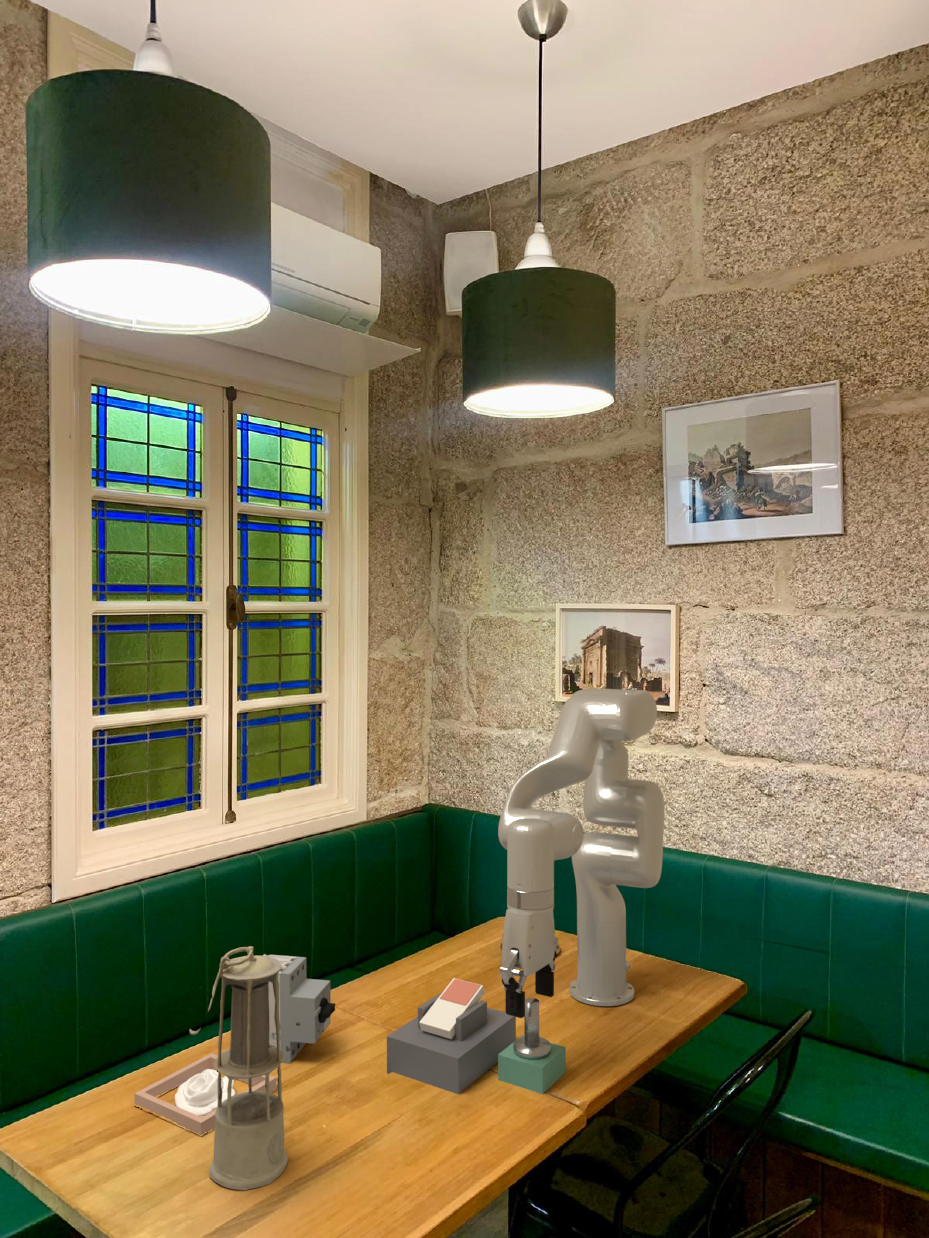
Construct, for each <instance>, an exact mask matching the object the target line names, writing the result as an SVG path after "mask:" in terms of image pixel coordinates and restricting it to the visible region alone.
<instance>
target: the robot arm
mask: <svg viewBox="0 0 929 1238" xmlns="http://www.w3.org/2000/svg"><path fill="white" fill-rule="evenodd" d="M657 716H658V706H657V701H656V700H655V697H654V696H653V694H652V693H650V692H649V691H647V690H642V689H618V688H617V689H616V688H615V689H614V688H584V689H580V690H577V691H575V692H574V693H573V694H572V695H571V696H570V697H569V698H567V699H566V701H565V702H564V704H563V706H562V709H561V711H560V714H559V717H558V721H557V724H556V727H555V730H554V732H553V735H552V739H551V742H550V745H549V748H548V752H547V754H546V756H545V757H544V758H543V759H541V760H540V761H538V762H536V763H535V764H534V765H533V766H531V767H530V768H529V769H528V770H526V771H525V772H524V773H523V774H522V775H521V776H520V777H519V778H517V779H516V781H515V782H514V784H513V785H512V786H511V787H510V790H509V791H508V794H507V796H506V799H505V802H504V805H503V809H502V811H501V815H500V818H499V822H498V828H497V829H498V833H497V836H498V841H499V843H500V844H501V846H502V848H504V849H505V850H507V852H506V853H507V854H506V855H507V857H506V858H507V862H506V864H507V867H506V868H507V869H506V870H507V871H506V872H507V874H506V875H507V876H506V877H507V885H506V886H507V887H506V888H507V889H506V892H507V893H506V895H507V896H506V904H507V905H506V907H507V909H506V911H505V917H504V922H503V931H502V935H503V938H502V942H503V944H502V949H501V966H500V968H499V973H500V977H501V983H502V985H503V989H504V990H505V1011H504V1012H506V1014H507V1015H511V1016H515V1017H516V1018H519V1019H523V1018H524V1016H525V999H526V991H524V986H525V984H526V980H527V977H530V976H532V975H534V974H535V979H534V981H535V983H534V985H535V988H534V990H535V994H536V995H541V996H543V997H549V998H552V997H554V995H555V972H554V971H555V970H556V963H555V961H556V958H557V955H558V954H557V953H556V949H557V945H559V944H558V943H559V939H558V937H556V934H555V933H556V932H555V918H554V908H555V887H554V886H555V861H558V860H564V859H569V858H570V857H571V864H572V868H573V874H574V878H575V886H576V889H575V890H576V910H577V911H576V931H577V932H576V935H577V936H576V937H577V938H576V939H577V940H576V942H577V943H576V944H577V945H576V948H577V950H576V951H577V954H576V955H577V960H576V961H577V965H576V966H577V968H576V969H577V978H576V979H575V980H572V982H571V983H570V985H569V994H570V996H572V998H574V1000H577V1001H578V1002H581V1003H583V1004H586V1005H590V1006H595V1007H615V1006H616V1007H617V1006H621V1005H624V1004H627V1003H629V1002H630V1001H632V1000H633V999H634V998H635V987H634V986H633V985H632V984H631V983H630V982H628V981H627V971H628V970H630V968H631V963H630V961H628V960H627V921H626V919H627V917H626V915H627V912H626V911H627V910H626V903H625V899H624V898H623V895H622V893H621V892H620V890H619V888H618V886H625V887H631V888H640V889H641V888H642V889H648V888H649V889H650V888H653V887H655V886H656V885H657V884H659V881H660V880H661V876H662V875H661V874H662V869H663V856H664V855H663V854H664V853H663V852H664V850H663V849H664V836H665V834H664V831H665V799H664V793H663V791H662V789H661V788H660V786H659V785H658V784H657V783H655V782H654V781H651V780H646V779H631V778H629V772H628V771H629V759H630V758H629V751H628V749H627V747H626V746H625V744H624V742H632V741H635V740H638V739H640V738H641V737H643V736H646V735H647V734H648V733H650V732H651V731H652V729H653V727H655V725H656V721H657ZM582 782H584V784H583V799H582V800H583V801H582V803H583V805H582V807H583V814H584V818H585V819H586V820H587V821H588V822H590V823H592V824H594V825H598V826H605V827H614V828H623V829H625V828H626V829H634V830H635V831H636V833H637V835H636V836H635V835H627V834H620V833H609V832H598V831H591V832H590V831H589V832H585V833H584V827H583V824H582V822H581V821H580V820H579V818H578V817H577V816H575V815H573V814H571V813H568V812H563V811H552V810H544V809H536V808H535V809H533V808H531V807H532V806H533V805H534V803H535V802H537V801H538V800H539V799H540V798H543V797H544V796H546V795H549V794H551V793H553V792H556V791H559V790H562V789H563V790H564V789H565V788H568V787H572V786H574V785H577V784H579V783H582ZM516 968H517V969H516ZM519 969H521V970H519ZM514 976H517V977H519V978H518V981H517V980H516V979H515V977H514Z"/></svg>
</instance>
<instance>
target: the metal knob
mask: <svg viewBox="0 0 929 1238" xmlns="http://www.w3.org/2000/svg"><path fill="white" fill-rule="evenodd" d="M523 1018H524V1023H523V1024H524V1028H523V1030H524V1035H525V1036H524V1037H521V1036H520V1037H521V1038H519V1037H518V1038H516V1040H515V1041H514V1044H513V1051H514V1053H515V1055H517V1056H518V1057H520V1058H523V1059H527V1060H539V1059H543V1058H546V1057H548V1056H549V1055H550V1053H551V1044H550V1043H551V1042H550V1041H549V1040H548V1039H546V1038H544V1037H541V1036H540V1000H539V999H537V998H534V997H528V998H525V1016H524V1017H523Z"/></svg>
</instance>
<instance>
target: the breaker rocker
mask: <svg viewBox="0 0 929 1238" xmlns="http://www.w3.org/2000/svg"><path fill="white" fill-rule="evenodd" d="M442 992H443V993H442ZM442 992H441V993H442V994H441V995H440V996H439V998H438V999H437V1000H436V1001H435V1003H434V1004H433V1005H432V1007H431V1008H430V1009H429V1010H428V1012H427V1013H426V1014H425V1016H424V1017H423V1018H422V1019H421V1021H420V1022H419V1024H420V1027H421V1030H422V1031H425V1032H429V1033H432V1034H435V1035H439V1036H442V1037H446V1038H449V1039H452V1038H453V1036H454V1035H455V1034H456V1018H457V1017H458V1016H460V1015H461V1014H463V1013H464V1012H466V1011H467V1010H469V1009H470V1008H471V1007H473V1006H474V1005H476V1004H477V1003H479V1002H480V1001H481V999H482V998H483V997H484V995H485V993H486V992H485V988H484V985H482V984H479V983H474V982H471V981H466V980H463V979H459V978H455V977H454V978H452V980H450V982H449V984H448V985H447V986H446V987H445V989H444V990H443V991H442Z"/></svg>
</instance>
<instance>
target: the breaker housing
mask: <svg viewBox="0 0 929 1238" xmlns="http://www.w3.org/2000/svg"><path fill="white" fill-rule="evenodd" d="M442 993H443V991H441V992H440V993H438V994H437V995H435V996H434V997H432V998H430V999H428V1001H425V1002H424V1003H423V1004H421V1005H420V1006H418V1007H417V1016H416V1017H415V1018H413V1019H411V1020H410V1021H408V1022H407V1023H405V1024H404V1025H402V1026H401V1027H398V1028H397V1029H396V1030H394V1031H393V1032H391V1033H390V1034H388V1035H386V1074H388V1075H389V1074H391V1073H395V1074H397V1075H400V1076H402V1077H406V1078H409V1079H411V1080H415V1081H418V1082H421V1083H424V1084H426V1085H429V1086H432V1087H436V1088H438V1089H441V1090H444V1091H447V1092H451V1093H453V1094H456V1095H460V1094H461V1093H462V1092H463V1091H465V1090H466V1089H467V1088H468V1087H470V1086H471V1085H472V1084H474V1082H476V1081H477V1080H479V1078H481V1077H482V1076H483V1075H484V1074H485V1073H486V1072H488V1071H489V1070H490V1069H491V1068H493V1066H495V1065H496V1064H498V1054H499V1053H501V1052H502V1051H503V1050H504V1049H506V1048H507V1047H508V1046H509V1045H511V1044H512V1043H513V1042H514V1041H515V1040H517V1028H516V1027H517V1023H516V1022H517V1020H516V1018H517V1017H515V1016H511V1015H507V1014H506V1012H505V1011H502V1010H498V1009H495V1008H491V1007H488V1001H486V1000H480V1001H479V1002H478V1003H477V1004H476V1005H474V1006H473V1007H471V1008H470V1009H469V1010H467V1011H466V1012H464V1013H463V1014H461V1015H460V1016H458V1017H457V1018H456V1034H455V1035H454V1036H453V1038H452V1039H449V1038H446V1037H442V1036H439V1035H435V1034H432V1033H429V1032H425V1031H422V1030H421V1027H420V1024H419V1022H420V1021H421V1019H422V1018H423V1017H424V1016H425V1014H426V1013H427V1012H428V1010H429V1009H430V1008H431V1007H432V1005H433V1004H434V1003H435V1001H436V1000H437V999H438V998H439V996H440V995H441V994H442Z"/></svg>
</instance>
